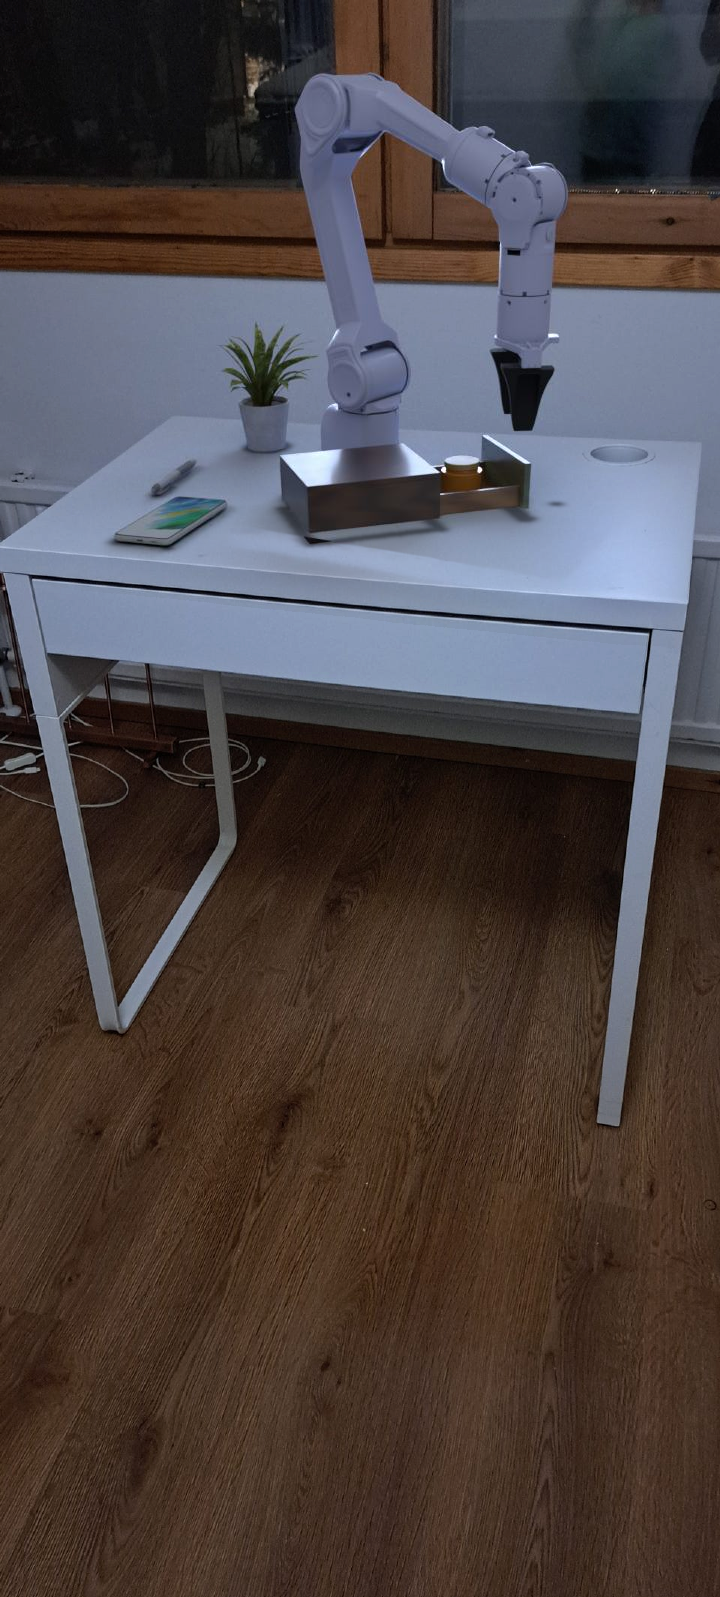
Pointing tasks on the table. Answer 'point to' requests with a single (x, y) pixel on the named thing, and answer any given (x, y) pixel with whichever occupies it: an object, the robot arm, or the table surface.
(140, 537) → the smartphone
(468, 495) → the drawer
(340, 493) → the cabinet
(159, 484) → the pen
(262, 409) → the house plant
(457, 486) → the jar
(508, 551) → the table surface
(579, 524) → the table surface
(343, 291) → the robot arm
